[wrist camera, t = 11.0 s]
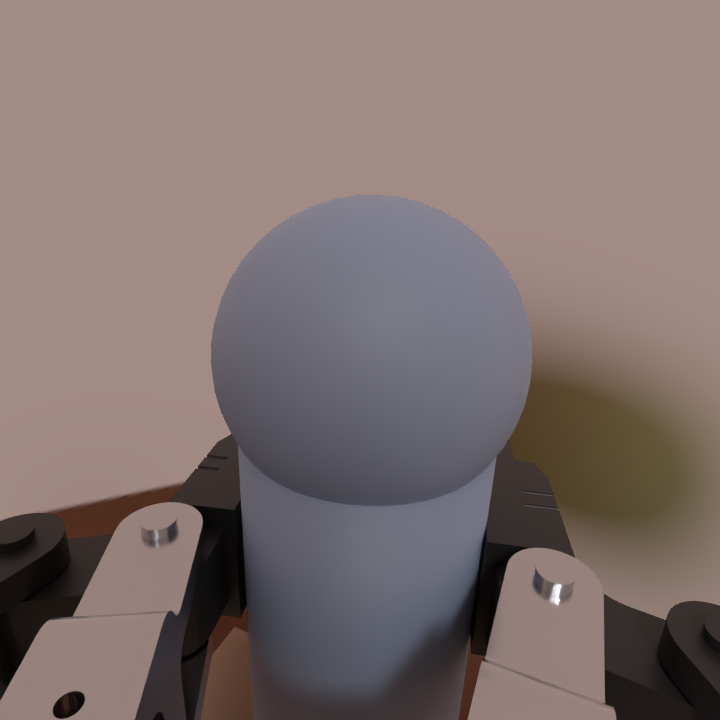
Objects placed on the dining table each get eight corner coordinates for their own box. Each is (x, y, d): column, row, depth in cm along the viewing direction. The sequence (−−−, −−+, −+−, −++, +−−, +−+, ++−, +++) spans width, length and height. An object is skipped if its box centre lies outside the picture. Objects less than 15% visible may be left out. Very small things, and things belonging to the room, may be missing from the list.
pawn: (182, 875, 10) (83, 190, 6) (306, 667, 15) (305, 183, 10) (428, 1040, 8) (562, 224, 4) (486, 746, 13) (583, 198, 8)
